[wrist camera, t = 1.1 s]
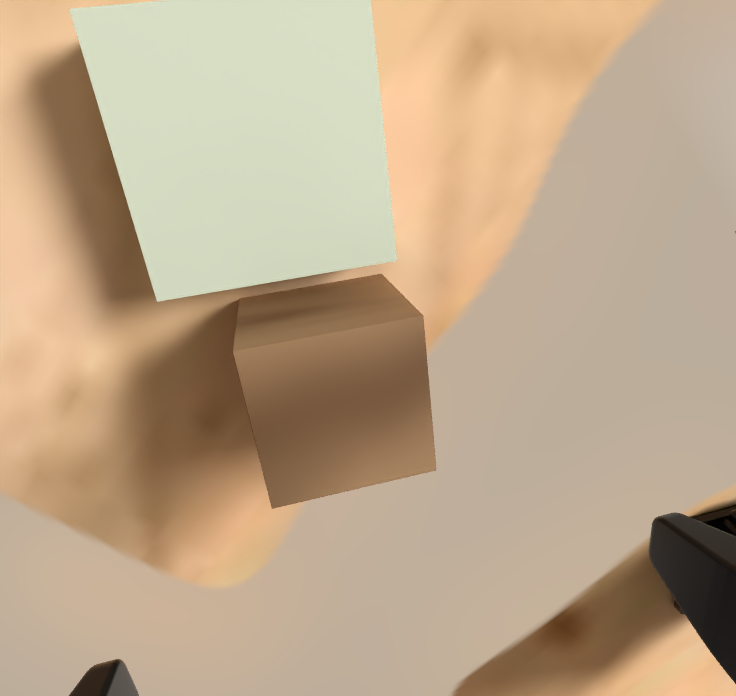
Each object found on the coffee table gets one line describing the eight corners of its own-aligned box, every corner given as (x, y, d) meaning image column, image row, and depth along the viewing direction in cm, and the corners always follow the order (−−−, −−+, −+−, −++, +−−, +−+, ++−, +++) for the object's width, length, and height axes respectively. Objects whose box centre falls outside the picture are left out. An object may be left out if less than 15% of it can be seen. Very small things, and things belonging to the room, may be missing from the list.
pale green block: (378, 246, 17) (396, 260, 15) (170, 280, 16) (156, 302, 14) (351, 8, 15) (368, -18, 12) (100, 32, 14) (69, 8, 11)
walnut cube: (395, 396, 20) (436, 470, 15) (268, 423, 19) (272, 508, 15) (380, 273, 18) (423, 315, 13) (239, 298, 17) (232, 351, 13)
